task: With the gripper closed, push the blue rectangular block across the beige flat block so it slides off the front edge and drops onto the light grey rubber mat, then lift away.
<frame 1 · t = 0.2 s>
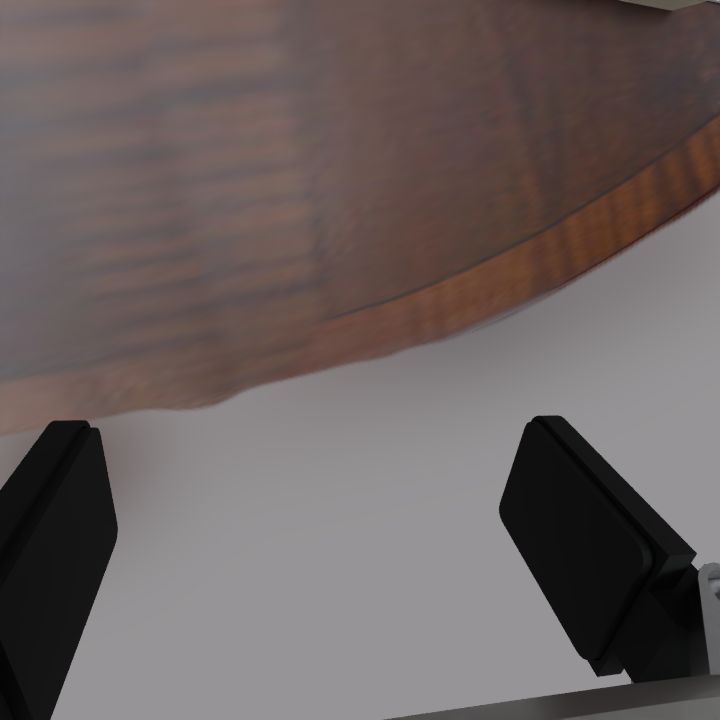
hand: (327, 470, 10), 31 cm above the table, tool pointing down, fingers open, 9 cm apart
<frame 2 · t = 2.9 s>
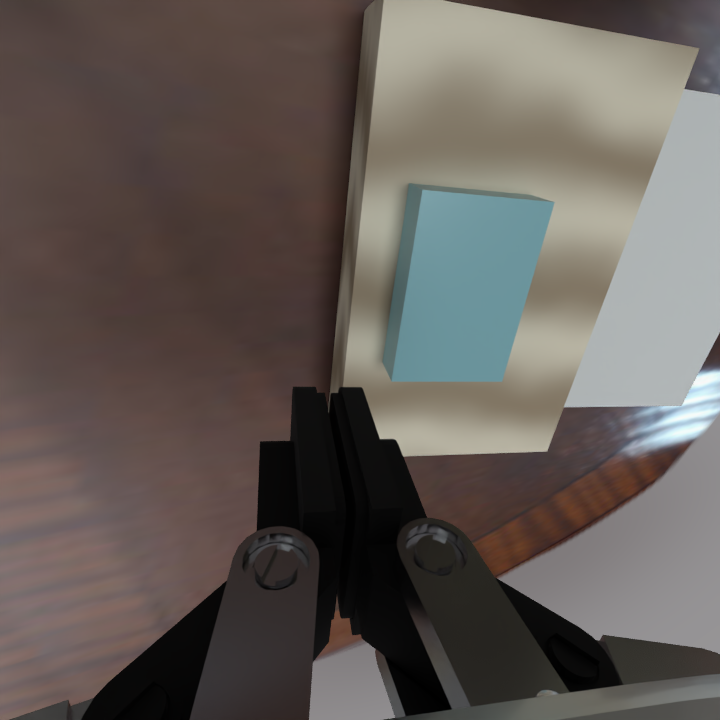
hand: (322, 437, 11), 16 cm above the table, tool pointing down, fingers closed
blue rectangular block: (452, 283, 23), point 4 cm above the table, touching beige flat block
beige flat block: (459, 263, 26), on the table
mat: (660, 275, 29), on the table
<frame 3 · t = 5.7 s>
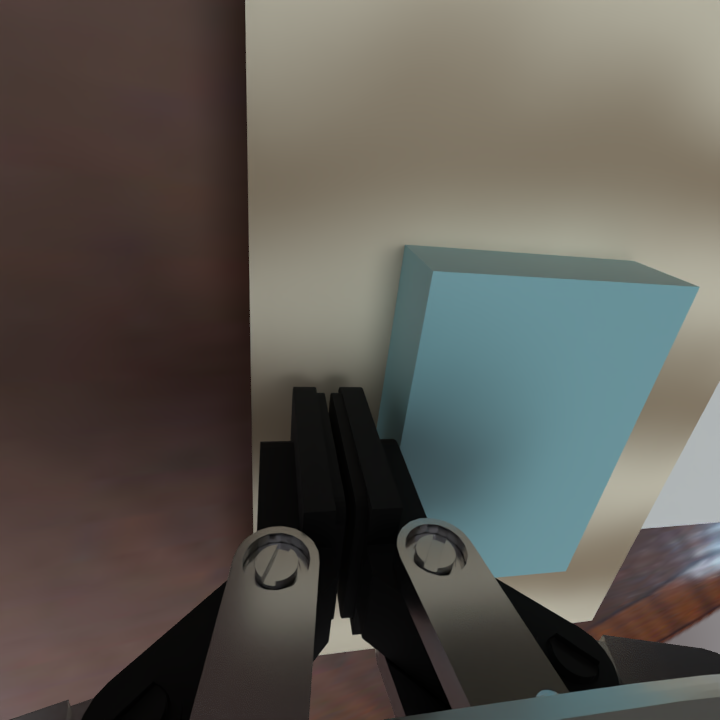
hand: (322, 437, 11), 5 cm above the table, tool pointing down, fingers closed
blue rectangular block: (482, 411, 13), point 4 cm above the table, touching beige flat block
beige flat block: (454, 346, 16), on the table
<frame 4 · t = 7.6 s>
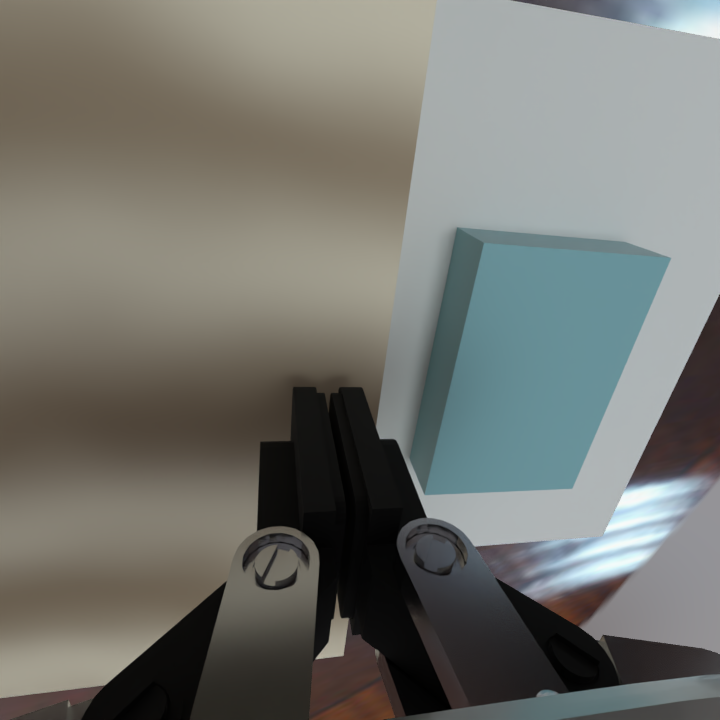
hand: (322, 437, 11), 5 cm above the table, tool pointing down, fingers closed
blue rectangular block: (536, 387, 15), point 2 cm above the table, tilted 180°, touching mat
beige flat block: (135, 345, 14), on the table
mat: (536, 351, 17), on the table
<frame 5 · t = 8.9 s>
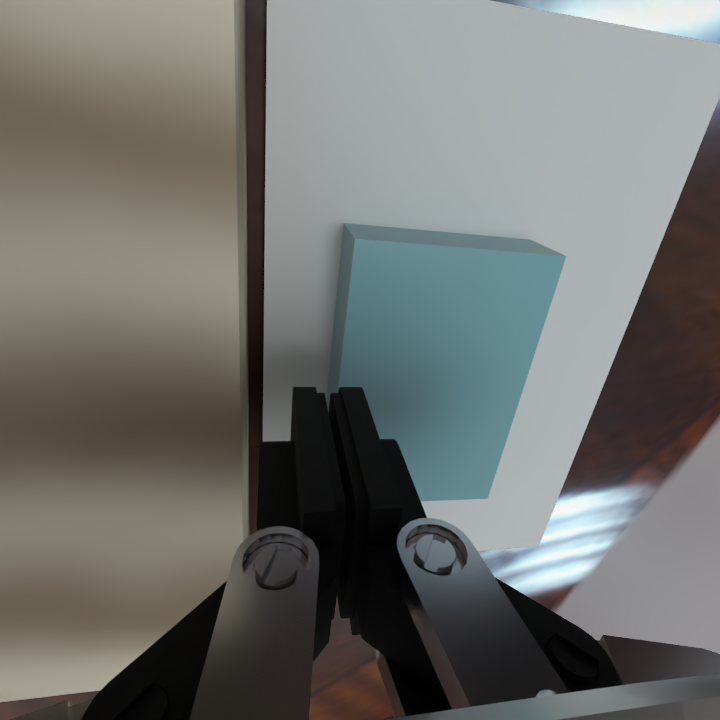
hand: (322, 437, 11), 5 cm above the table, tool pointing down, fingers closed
blue rectangular block: (433, 393, 14), point 2 cm above the table, tilted 180°, touching mat
beige flat block: (6, 346, 13), on the table
mat: (448, 354, 16), on the table
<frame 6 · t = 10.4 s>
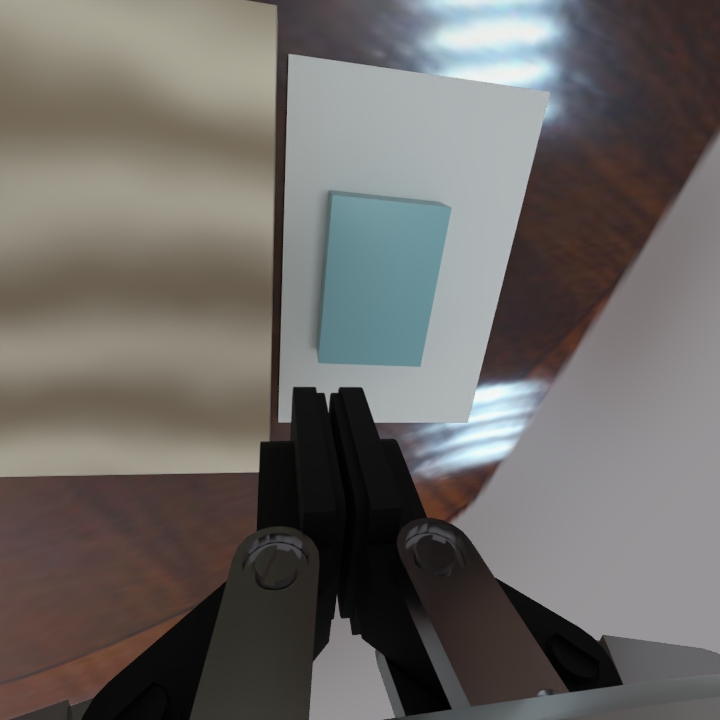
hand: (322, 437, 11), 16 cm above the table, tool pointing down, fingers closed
blue rectangular block: (381, 289, 24), point 2 cm above the table, tilted 180°, touching mat
beige flat block: (138, 260, 24), on the table
mat: (395, 275, 26), on the table
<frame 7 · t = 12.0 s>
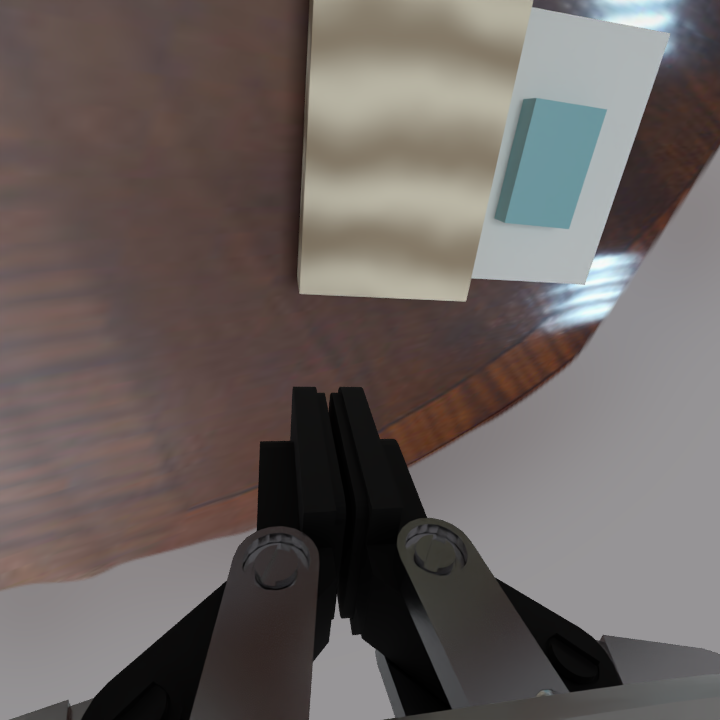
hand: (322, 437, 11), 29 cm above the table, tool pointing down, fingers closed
blue rectangular block: (553, 168, 36), point 2 cm above the table, tilted 180°, touching mat
beige flat block: (393, 147, 35), on the table
mat: (553, 165, 38), on the table
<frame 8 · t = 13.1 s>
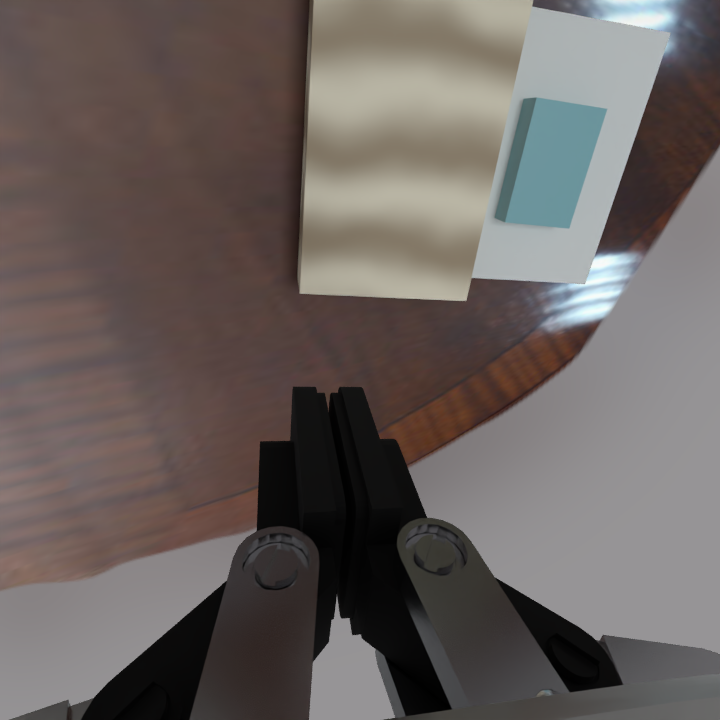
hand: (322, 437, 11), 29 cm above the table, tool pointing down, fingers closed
blue rectangular block: (554, 167, 36), point 2 cm above the table, tilted 180°, touching mat
beige flat block: (393, 146, 35), on the table
mat: (553, 164, 38), on the table
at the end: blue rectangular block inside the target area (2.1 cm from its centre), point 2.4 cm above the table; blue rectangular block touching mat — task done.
